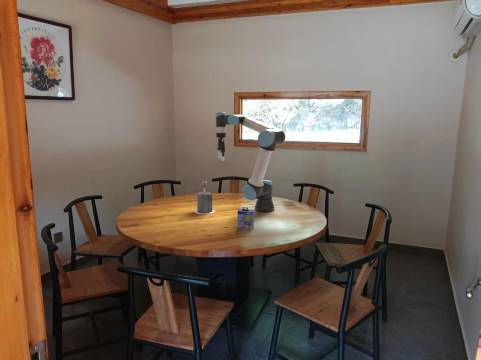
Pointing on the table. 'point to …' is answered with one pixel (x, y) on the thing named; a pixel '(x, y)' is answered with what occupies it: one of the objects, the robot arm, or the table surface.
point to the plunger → (204, 184)
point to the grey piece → (204, 202)
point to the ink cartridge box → (245, 219)
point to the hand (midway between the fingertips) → (221, 159)
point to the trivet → (204, 213)
